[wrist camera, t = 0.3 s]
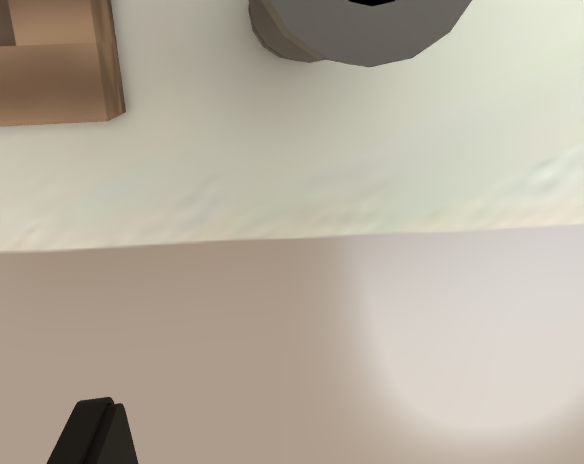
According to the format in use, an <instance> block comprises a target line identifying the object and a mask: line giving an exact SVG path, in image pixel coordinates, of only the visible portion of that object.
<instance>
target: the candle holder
mask: <svg viewBox="0 0 584 464" xmlns="http://www.w3.org/2000/svg"><path fill="white" fill-rule="evenodd" d="M471 1H472V0H249V15H250V20H251V24H252V29H253V32H254V33H255V35H256V36H257V38H258V39H259V41H260V42H261V44H262V45H263V47H265V48H266V49H268V50H269V51H271V52H272V53H274V54H275V55H276V56H278V57H281V58H286V59H291V60H296V61H303V62H308V63H311V62H316V61H320V60H325V59H326V60H331V61H336V62H341V63H346V64H351V65H358V66H365V67H373V66H378V65H382V64H387V63H391V62H396V61H401V60H405V59H410V58H413V57H414V56H416V55H417V54H419V53H420V52H422V51H423V50H425V49H426V48H427V47H429V46H430V45H432V44H433V43H435V42H436V41H438V40H439V39H441V38H442V37H443V36H445V35H446V34H448V33H449V32H450V31H451V30H452V28H453V27H454V25H455V24H456V23H457V21H458V20H459V18H460V17H461V15H462V14H463V12H464V11H465V10H466V8H467V7H468V5H469V4H470V2H471Z"/></svg>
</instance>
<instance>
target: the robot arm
mask: <svg viewBox="0 0 584 464" xmlns="http://www.w3.org/2000/svg"><path fill="white" fill-rule="evenodd" d="M47 464H138V460H137V456H136V452H135V448H134V445H133V440H132V436H131V432H130V428H129V424H128V420H127V415H126V412H125V408H124V406H123V404H121V403H119V404H114V401H113V400H112V398H111V397H104V398H97V399H89V400H82V401H79V402H77V404H76V405H75V407H74V409H73V411H72V413H71V415H70V417H69V419H68V421H67V424H66V425H65V427H64V429H63V431H62V433H61V436H60V437H59V440H58V442H57V444H56V446H55V448H54V450H53V452H52V454H51V456H50V458H49V460H48V462H47Z"/></svg>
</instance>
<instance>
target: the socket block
mask: <svg viewBox="0 0 584 464" xmlns="http://www.w3.org/2000/svg"><path fill="white" fill-rule="evenodd" d="M125 112H126V111H125V104H124V97H123V89H122V82H121V75H120V67H119V60H118V53H117V45H116V38H115V30H114V23H113V16H112V8H111V1H110V0H0V126H19V125H38V124H58V123H78V122H97V121H109V120H111V119H113V118H115V117H117V116H119V115H121V114H123V113H125Z"/></svg>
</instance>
